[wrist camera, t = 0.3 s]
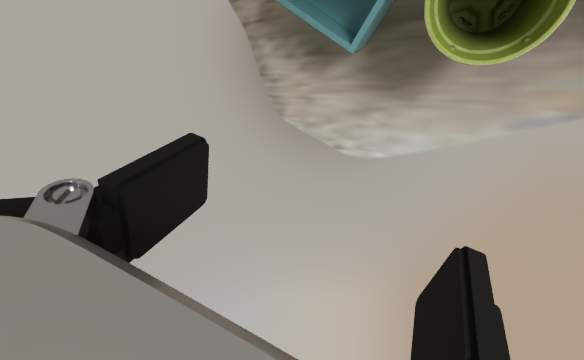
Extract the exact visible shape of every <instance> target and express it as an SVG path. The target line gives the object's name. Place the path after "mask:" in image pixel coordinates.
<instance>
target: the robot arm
mask: <svg viewBox="0 0 584 360" xmlns="http://www.w3.org/2000/svg"><path fill="white" fill-rule="evenodd" d="M208 158H209V145H208V144H207V143H206V140H205V139H204V138H203V137H201V136H198V135H196V134H193V133H189V134H187V135H185V136H183V137H181V138H179V139H177V140H175V141H173V142H171V143H169V144H167V145H165V146H163V147H161V148H159V149H157V150H156V151H153V152H151V153H149V154H147V155H145V156H143V157H141V158H139V159H137V160H135V161H134V162H131V163H129V164H127V165H126V166H124V167H122V168H120V169H118V170H116V171H114V172H112V173H110V174H108V175H106V176H104V177H102V178H100V179H98V184H99V185H98V186H97V187H95V188H94V187H93V186H92V184H91V183H89V182H88V181H85V180H82V179H64V180H60V181H56V182H53V183H51V184H48V185H47V186H45V187H44V188H42V189H41V190H40V191H39V192H38V194H37V196H36V197H28V198H14V199H0V360H298V359H296V358H294V357H292V356H291V355H289V354H287V353H286V352H284V351H282V350H280V349H279V348H277V347H275V346H274V345H272V344H270V343H268V342H267V341H265V340H263V339H262V338H260V337H258V336H256V335H255V334H253V333H251V332H249V331H247V330H246V329H244V328H242V327H241V326H238V325H237V324H235V323H233V322H232V321H230V320H228V319H227V318H225V317H223V316H221V315H220V314H217V313H216V312H214V311H213V310H211V309H209V308H207V307H205V306H204V305H202V304H200V303H199V302H197V301H195V300H193V299H192V298H190V297H188V296H186V295H184V294H183V293H181V292H179V291H178V290H176V289H174V288H172V287H170V286H168V285H167V284H165V283H163V282H162V281H160V280H158V279H156V278H154V277H153V276H151V275H149V274H147V273H145V272H144V271H142V270H140V269H138V268H137V267H135V266H133V265H131V264H130V262H131V261H132V260H133V259H134V258H135V259H137V258H140V257H141V256H143V255H144V254H145V253H146V252H147V251H149V250H150V249H151V248H152V247H153V246H155V245H156V244H157V243H158V242H159V241H161V240H162V239H163V238H164V237H165V236H166V235H168V234H169V233H170V232H171V231H173V230H174V229H175V228H176V227H177V226H178V225H180V224H181V223H182V222H183V221H185V220H186V219H187V218H188V217H189V216H191V215H192V214H193V213H194V212H195V211H196V210H198V209H199V208H200V207H201V206H202V205H203V204H204V203H205V201H206V199H207V187H208V186H207V185H208ZM411 360H510V356H509V350H508V345H507V340H506V335H505V330H504V324H503V320H502V314H501V311H500V309H499V307H498V306H497V305H495V304H494V299H493V293H492V287H491V282H490V276H489V271H488V264H487V259H486V255H485V254H483V253H481V252H479V251H476V250H474V249H471V248H469V247H466V246H464V247H463V248H461V249H459V248H455V249H454V250H453V251H452V253H451V254H450V255H449V257H448V258H447V259H446V261H445V262H444V263H443V265H442V266H441V268H440V269H439V270H438V271H437V273H436V274H435V276H434V277H433V278H432V280H431V281H430V282H429V284H428V285H427V286H426V288H425V289H424V290H423V292H422V293H421V294H420V296H419V297H418V299H417V302H416V306H415V317H414V329H413V340H412V351H411Z"/></svg>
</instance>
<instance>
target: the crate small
mask: <svg viewBox="0 0 584 360" xmlns="http://www.w3.org/2000/svg"><path fill="white" fill-rule="evenodd" d="M276 1H277V2H279V3H280V4H281V5H283V6H284V7H286V8H287V9H289V10H290V11H291V12H293V13H294V14H296V15H297V16H299V17H300V18H301V19H303V20H304V21H306V22H307V23H309V24H310V25H312V26H313V27H314V28H316V29H317V30H319V31H320V32H322V33H323V34H324V35H326V36H327V37H329V38H330V39H332V40H333V41H335V42H336V43H337V44H339V45H340V46H342V47H343V48H345V49H346V50H347V51H349V52H350V53H352V54H353V53H355V52H356V51H358V50H360V49H362V48H363V47H365V46H366V44H367V43H368V41H369V40H370V38H371V36H372V35H373V33H374V32H375V30H376V28H377V27H378V25H379V24H380V22H381V21H382V19H383V17H384V16H385V14H386V13H387V11H388V9H389V8H390V6H391V5H392V3H393V1H394V0H276Z"/></svg>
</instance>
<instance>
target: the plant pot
mask: <svg viewBox="0 0 584 360" xmlns="http://www.w3.org/2000/svg"><path fill="white" fill-rule="evenodd" d="M575 1H576V0H425V6H424V18H425V25H426V29H427V32H428V35H429V37H430V39H431V41H432V42H433V44H434V45H435V46H436V48H437V49H438V50H439V51H440V52H441V53H443V54H444V55H445V56H447V57H448V58H450V59H452V60H454V61H456V62H459V63H463V64H467V65H477V66H484V65H493V64H498V63H502V62H506V61H509V60H512V59H515V58H517V57H519V56H521V55H523V54H525V53H527V52H528V51H530V50H532V49H533V48H535V47H536V46H537V45H539V44H540V43H541V42H543V41H544V40H545V39H546V38H548V37H549V36H550V35H551V34H552V33H553V32H554V31H555V30H556V29H557V27H558V26H559V25H560V24H561V23H562V22H563V20H564V19H565V18H566V16H567V15H568V14H569V12H570V10H571V9H572V7H573V5H574V3H575ZM512 3H513V4H512ZM510 4H512V5H513V6H512V8H511V10H510V11H509V13H508V14H507V15H506V16H505V17H503V18H501V19H500V18H499V16H500V15H501V14H502V13H503V12H504V11H505V10H506V9H507V8H508V7H509V6H510ZM461 17H463V18H464V19H465V20H466V21H468V22H469V23H472V25H471V26H467V25H465V24H463V23H462V22H461V21H460V18H461Z"/></svg>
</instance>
